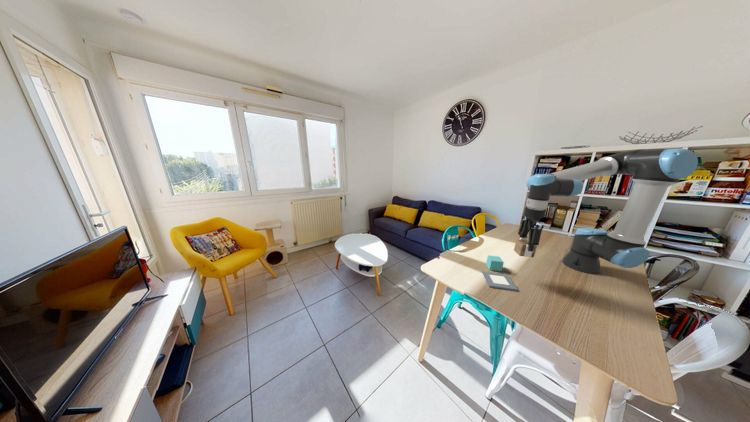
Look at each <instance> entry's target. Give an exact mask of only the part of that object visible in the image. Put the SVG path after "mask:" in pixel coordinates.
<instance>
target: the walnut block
mask: <svg viewBox="0 0 750 422" xmlns="http://www.w3.org/2000/svg"><path fill="white" fill-rule="evenodd" d="M527 243H529V240H528V239H527V240H520V239H515V245H514V248H513V251H514V252H515V253H516V255H518V256H519V257H526V256H524V253H525V249H526V245H527ZM537 247H538V246H537V245H535V246H534V249H533V252H532V255H531V257H530V258H534V257H535V255H536V251H537Z"/></svg>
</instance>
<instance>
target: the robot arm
mask: <svg viewBox="0 0 750 422" xmlns="http://www.w3.org/2000/svg"><path fill="white" fill-rule="evenodd" d="M698 161H699V159H698V157H697V155H696V153H695V152H694V151H692V150H690V149H687V148H651V149H649V148H648V149H643V148H642V149H632V150H627V151H622V152H619V153H614V154H610V155H607V156H604V157H601V158H599V159H598V160H596V161H592V162H589V163H588V162H587V163H585V164H581V165H577V166H574V167H570V168H566V169H562V170H559V171H558V170H557V171H555V172H551V173H546V174H545V173H536V174H534V175H531V176H530V177H528V179H527V180H526V187H527V188H528V189H529V191H528V195H527V199H526V201H525V202H526V203H525V206H526V207H524V211H523V215H524V216H521V221H520V226H519V228H518V232H517V234H518V235H519V240H527V241H529V243H527V245H526V249H525V253H524V256H523V257H525V256H526V257H527V258H532V257H531V255H532V252H533V249H534V246H535V245H536V246H537V247H538V246H539V244H540V240H541V236H542V232H543V229H544V228H545V226H544V225H543V224H541V219H544V218H545V216H546V212H547V208H548V205H549V201H550V198H551V197H553V196H554V197H555V196H556V197H568V198H569V197H575V196H578V195H580V194H581V193H582V191H583V188H584V184H583V182H582V181H585V180H590V179H593V178H597V177H602V176H604V177H610V176H614V175H624V176H625V175H629V176H632V177H631V180H632V182H634V185H633V187H632V190H631V192H630V194H629V196H628V199H627V201H626V203H625V205H624V207H623V210H622V212H621V214H620V215H619V218H618V221H617V223H616V224H615V227H614V229H613V231H611V232H609V231H607V230H604V229H601V228H599V229H598V228H592V227H591V228H590V227H579V228H577V229H576V231H575V233H574V236H573V239H572V241H571V246H570V248H569V251H568V252H567V253H566V254H565V255H564V256H563V258H562V260H561V263H563V264H564V265H565V266H566V267H569V268H571V269H573V270H575V271H579V272H582V273H587V274H591V275H592V274H599V273H600V270H601V263H600V259H603V260H605V261H607V262H609V263H610V264H612V265H616V266H618V267H620V268H624V269H632V268H636V267H638V266H641V265H643V264H644V263H645V262H646V261H647V260H648V259H649V258H650V255H651V254H650V251H649V250H648V249H647V248H645V246H646V241H645V240H644V239H643V237H644V235H645V233H646V231H647V229H648V228H649V227H650V224H651V222H652V220H653V218H654V216H655V213H656V212H657V210H658V208H659V206H660V204H661V202H662V200H663V198H664V196H665V194H666V192H667V190H668V188H669V187H671V186H673V185H675V184H678V182H679V181H680V180H682V179H686V178H688V177H690V175H692V174H693V173H694V172H695V171H696V169H697V168H698V164H699V162H698Z"/></svg>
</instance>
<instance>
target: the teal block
mask: <svg viewBox="0 0 750 422" xmlns="http://www.w3.org/2000/svg"><path fill="white" fill-rule="evenodd" d="M485 265H486V267H487V266H488V267H487V268H488V270H489V271H492V270H495V272H500V271H501V273H502V270H503V268H504V267H503V266H504V260H503V259H502V258H501V256H496V255H490V254H489V255H487V258H486V263H485Z"/></svg>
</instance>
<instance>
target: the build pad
mask: <svg viewBox="0 0 750 422" xmlns="http://www.w3.org/2000/svg"><path fill="white" fill-rule="evenodd" d="M482 273H483V274H482ZM481 274H482V276H483V275H484V276H483V278H484V279H486V280H485V281H486V284H487V285H488V287H489V288H492V289H499V290H506V291H513V292H518V291H519V289H518V288H517V286H516V285H515V283H514V282H513V281H512V279H511V277H510V276H509V275H508V274H506V273H499V272H492V271H485V270H484V271H482V272H481Z"/></svg>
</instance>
